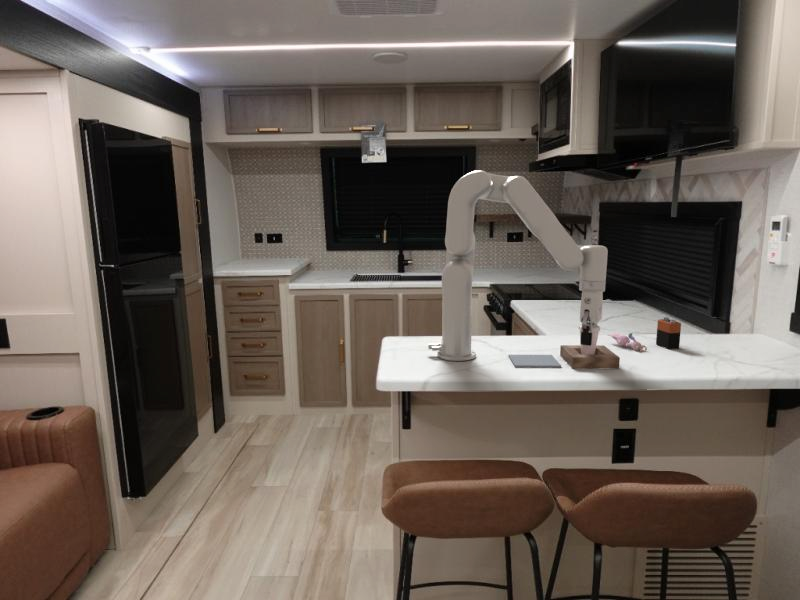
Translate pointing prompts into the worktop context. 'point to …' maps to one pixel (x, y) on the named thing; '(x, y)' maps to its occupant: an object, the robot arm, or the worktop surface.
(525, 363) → the slate mat
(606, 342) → the worktop surface
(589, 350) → the smoothie
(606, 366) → the walnut frame
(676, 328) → the battery
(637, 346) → the rabbit figure
